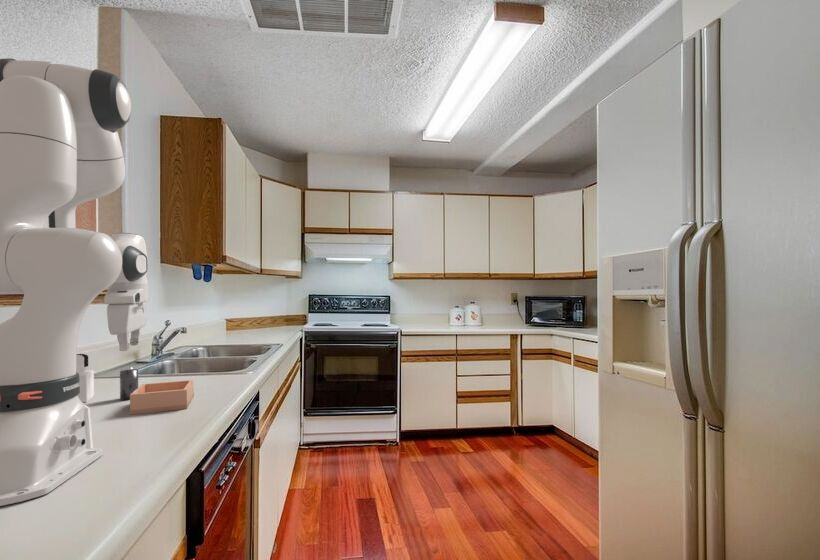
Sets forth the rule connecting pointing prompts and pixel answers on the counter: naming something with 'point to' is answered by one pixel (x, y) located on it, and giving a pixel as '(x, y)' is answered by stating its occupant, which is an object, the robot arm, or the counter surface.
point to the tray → (162, 396)
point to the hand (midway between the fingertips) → (129, 347)
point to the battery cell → (128, 382)
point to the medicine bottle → (84, 378)
